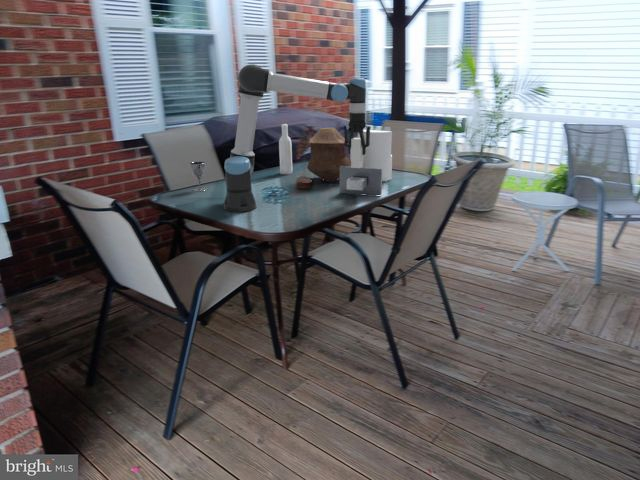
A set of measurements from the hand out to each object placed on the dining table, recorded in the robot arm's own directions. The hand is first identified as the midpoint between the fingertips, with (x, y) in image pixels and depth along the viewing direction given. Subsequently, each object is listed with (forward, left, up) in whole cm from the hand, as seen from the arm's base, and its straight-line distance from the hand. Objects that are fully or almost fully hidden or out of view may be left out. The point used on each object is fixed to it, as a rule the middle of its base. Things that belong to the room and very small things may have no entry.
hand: (356, 160), depth 238 cm
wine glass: (-10, +86, -19) cm, 89 cm away
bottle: (+45, +59, -19) cm, 77 cm away
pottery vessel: (+35, +27, -19) cm, 48 cm away
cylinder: (+46, +1, -19) cm, 50 cm away
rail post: (0, 0, -3) cm, 3 cm away
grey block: (+2, 0, -19) cm, 19 cm away
